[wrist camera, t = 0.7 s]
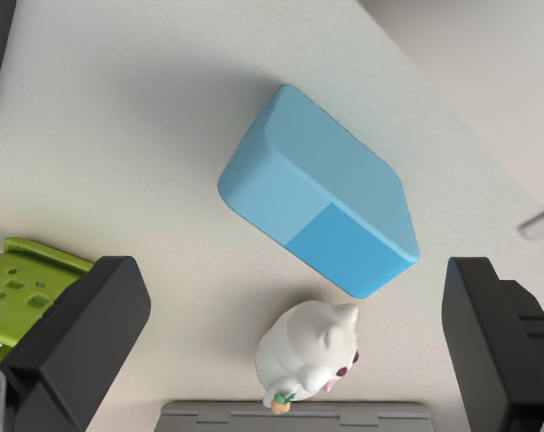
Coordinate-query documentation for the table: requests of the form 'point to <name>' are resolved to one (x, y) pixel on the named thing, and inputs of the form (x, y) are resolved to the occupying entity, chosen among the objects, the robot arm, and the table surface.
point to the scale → (5, 23)
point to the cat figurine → (306, 352)
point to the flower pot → (31, 285)
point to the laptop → (294, 417)
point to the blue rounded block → (321, 195)
